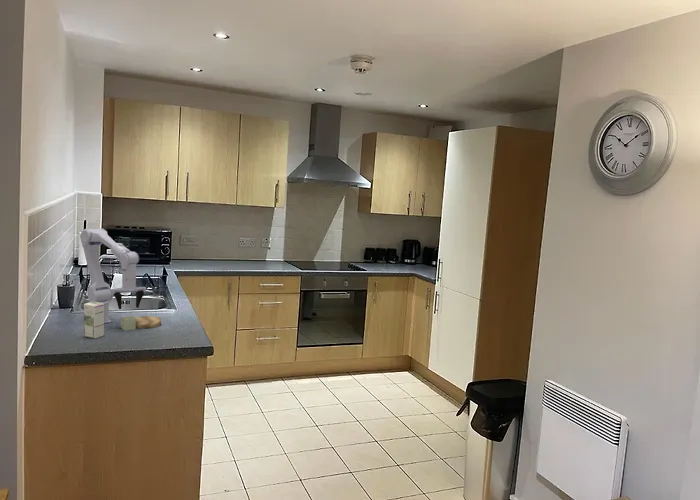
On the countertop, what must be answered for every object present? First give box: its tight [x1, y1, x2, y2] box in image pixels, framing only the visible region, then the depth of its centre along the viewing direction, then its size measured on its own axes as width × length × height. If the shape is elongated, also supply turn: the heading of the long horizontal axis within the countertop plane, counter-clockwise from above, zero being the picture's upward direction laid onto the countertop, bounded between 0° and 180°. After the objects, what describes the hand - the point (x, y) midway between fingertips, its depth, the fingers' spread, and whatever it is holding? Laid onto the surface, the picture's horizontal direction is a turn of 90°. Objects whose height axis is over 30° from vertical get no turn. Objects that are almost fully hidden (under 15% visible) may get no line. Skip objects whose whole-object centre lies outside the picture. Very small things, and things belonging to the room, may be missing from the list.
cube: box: [120, 315, 137, 331], centre depth 245 cm, size 5×5×5 cm
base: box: [135, 315, 162, 329], centre depth 253 cm, size 13×13×2 cm
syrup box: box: [83, 301, 105, 339], centre depth 229 cm, size 6×6×14 cm
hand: (128, 308), depth 244 cm, fingers open, 7 cm apart
